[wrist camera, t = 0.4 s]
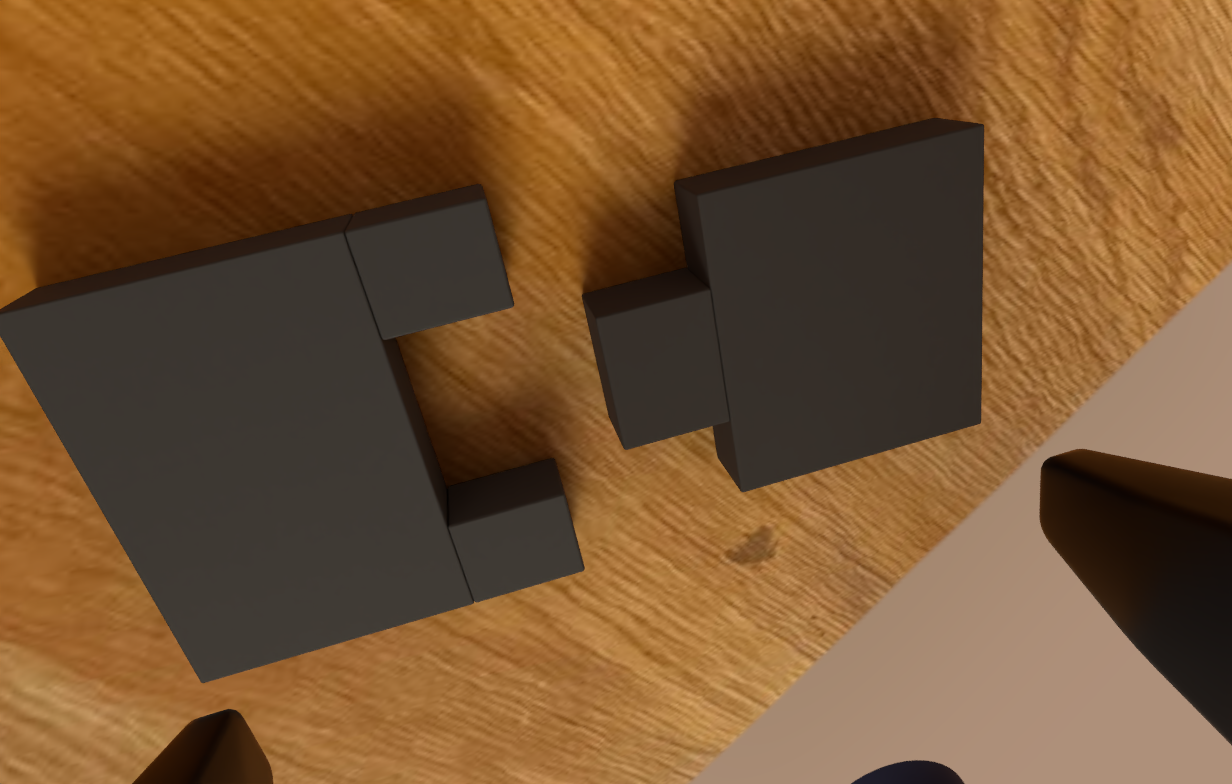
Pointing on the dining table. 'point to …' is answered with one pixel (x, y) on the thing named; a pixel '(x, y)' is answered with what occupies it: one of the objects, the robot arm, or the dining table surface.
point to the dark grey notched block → (289, 431)
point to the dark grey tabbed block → (809, 306)
